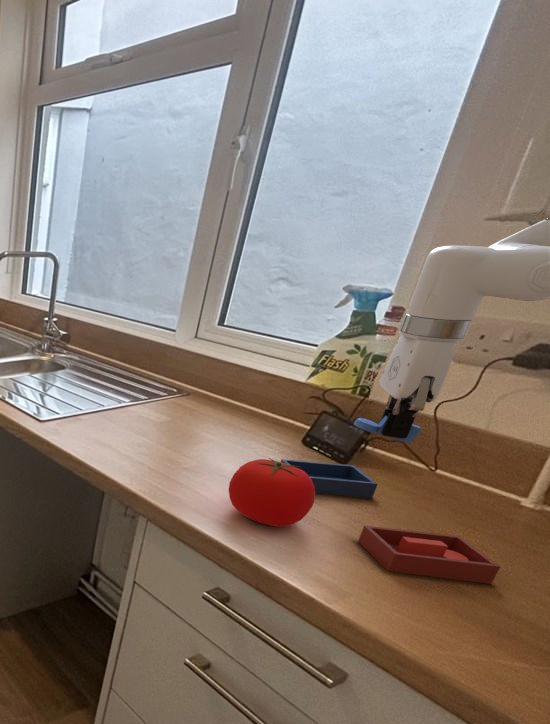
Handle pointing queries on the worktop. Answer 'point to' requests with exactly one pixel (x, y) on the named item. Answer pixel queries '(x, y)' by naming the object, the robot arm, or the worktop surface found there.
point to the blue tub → (336, 478)
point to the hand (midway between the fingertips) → (391, 433)
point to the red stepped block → (427, 548)
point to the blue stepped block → (374, 427)
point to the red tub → (385, 552)
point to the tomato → (272, 492)
